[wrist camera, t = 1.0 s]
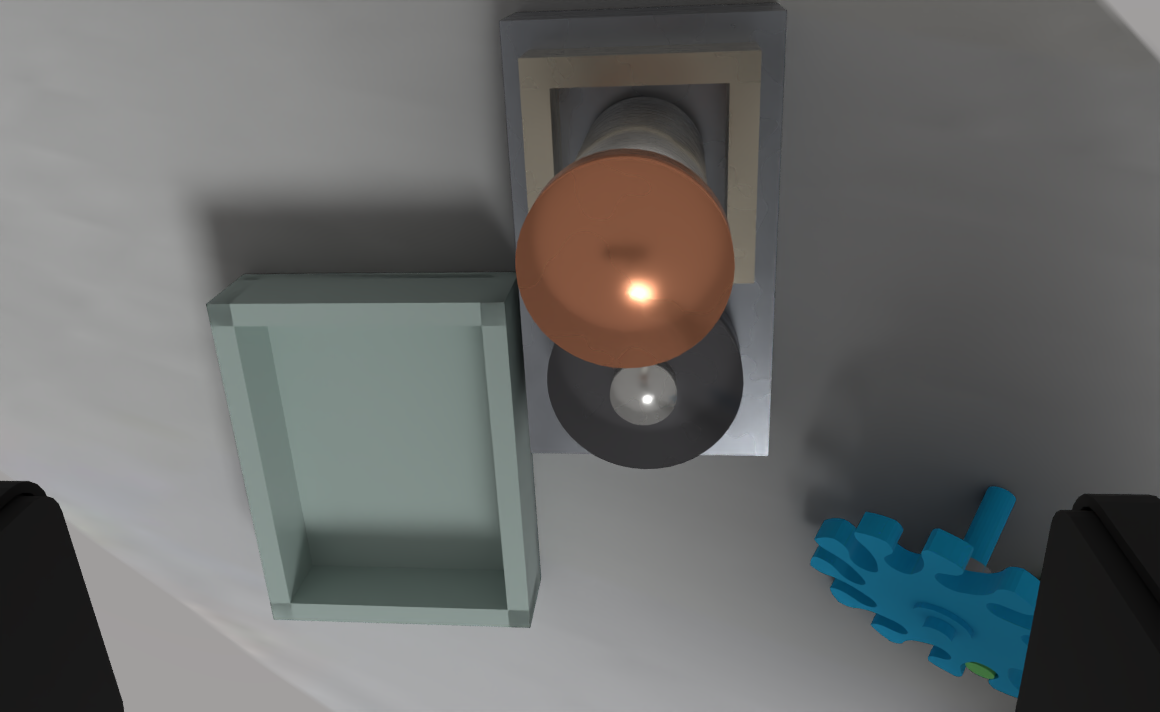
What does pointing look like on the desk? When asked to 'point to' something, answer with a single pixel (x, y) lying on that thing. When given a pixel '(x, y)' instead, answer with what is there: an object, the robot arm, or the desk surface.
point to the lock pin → (628, 242)
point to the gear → (938, 590)
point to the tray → (384, 444)
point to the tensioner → (734, 173)
